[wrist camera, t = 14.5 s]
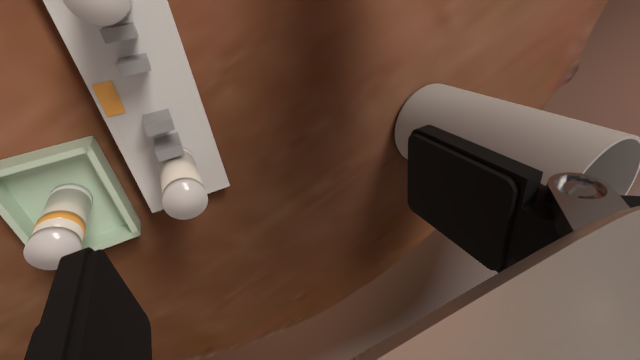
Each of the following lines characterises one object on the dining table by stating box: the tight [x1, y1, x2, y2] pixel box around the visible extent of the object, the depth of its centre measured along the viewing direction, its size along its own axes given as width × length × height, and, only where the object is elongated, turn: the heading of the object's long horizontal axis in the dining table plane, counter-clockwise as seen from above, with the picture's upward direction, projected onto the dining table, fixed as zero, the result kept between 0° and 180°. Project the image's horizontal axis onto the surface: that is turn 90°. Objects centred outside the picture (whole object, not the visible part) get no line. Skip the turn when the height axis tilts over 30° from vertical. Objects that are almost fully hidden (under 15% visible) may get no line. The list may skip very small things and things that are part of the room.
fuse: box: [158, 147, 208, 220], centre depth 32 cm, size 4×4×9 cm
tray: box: [0, 135, 141, 251], centre depth 33 cm, size 11×9×3 cm
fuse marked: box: [23, 183, 93, 270], centre depth 31 cm, size 4×4×9 cm
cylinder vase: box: [395, 84, 640, 195], centre depth 42 cm, size 12×12×25 cm
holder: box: [43, 0, 230, 213], centre depth 31 cm, size 26×9×6 cm, turn 10°
